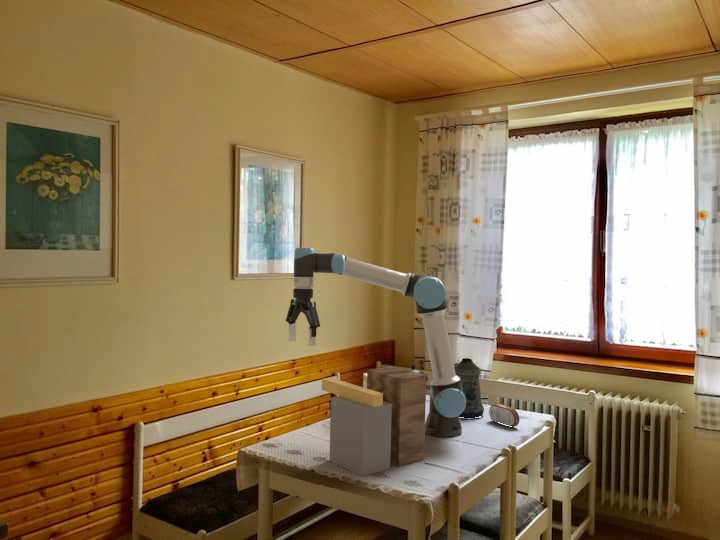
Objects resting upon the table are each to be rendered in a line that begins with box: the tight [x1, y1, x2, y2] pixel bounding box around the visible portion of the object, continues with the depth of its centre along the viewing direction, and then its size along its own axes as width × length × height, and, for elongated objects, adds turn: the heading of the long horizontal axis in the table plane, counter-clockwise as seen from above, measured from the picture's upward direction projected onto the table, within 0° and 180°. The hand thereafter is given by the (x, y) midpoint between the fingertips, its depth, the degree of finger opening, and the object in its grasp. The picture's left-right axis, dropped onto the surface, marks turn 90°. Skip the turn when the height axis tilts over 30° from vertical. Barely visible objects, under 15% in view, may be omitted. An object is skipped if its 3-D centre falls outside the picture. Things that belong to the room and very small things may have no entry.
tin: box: [488, 402, 520, 428], centre depth 265 cm, size 15×3×8 cm, turn 35°
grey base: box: [329, 395, 392, 477], centre depth 211 cm, size 18×12×22 cm, turn 39°
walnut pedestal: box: [366, 366, 427, 467], centre depth 221 cm, size 18×12×30 cm, turn 39°
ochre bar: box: [321, 377, 383, 407], centre depth 215 cm, size 29×4×4 cm, turn 39°
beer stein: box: [454, 357, 485, 418], centre depth 281 cm, size 16×19×25 cm
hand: (302, 343), depth 238 cm, fingers open, 13 cm apart
